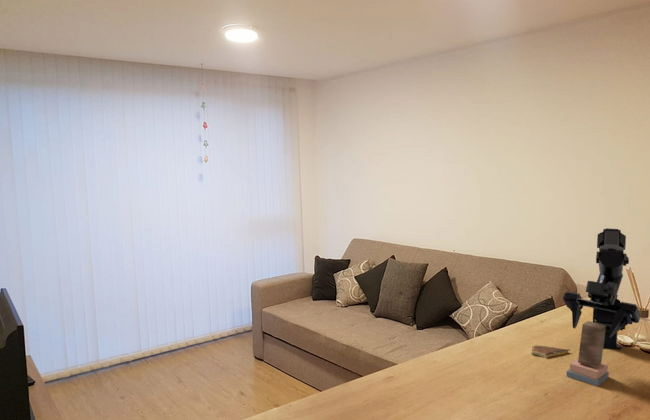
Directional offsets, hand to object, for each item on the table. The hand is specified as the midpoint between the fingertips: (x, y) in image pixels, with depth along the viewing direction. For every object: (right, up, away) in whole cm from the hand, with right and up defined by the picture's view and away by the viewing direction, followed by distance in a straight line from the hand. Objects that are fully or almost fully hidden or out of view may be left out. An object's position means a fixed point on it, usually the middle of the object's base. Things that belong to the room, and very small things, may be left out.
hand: (591, 332), depth 131 cm
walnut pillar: (0, -9, 0) cm, 9 cm away
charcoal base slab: (-1, -13, +1) cm, 13 cm away
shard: (-4, -12, +18) cm, 22 cm away
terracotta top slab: (-1, -11, 0) cm, 11 cm away
